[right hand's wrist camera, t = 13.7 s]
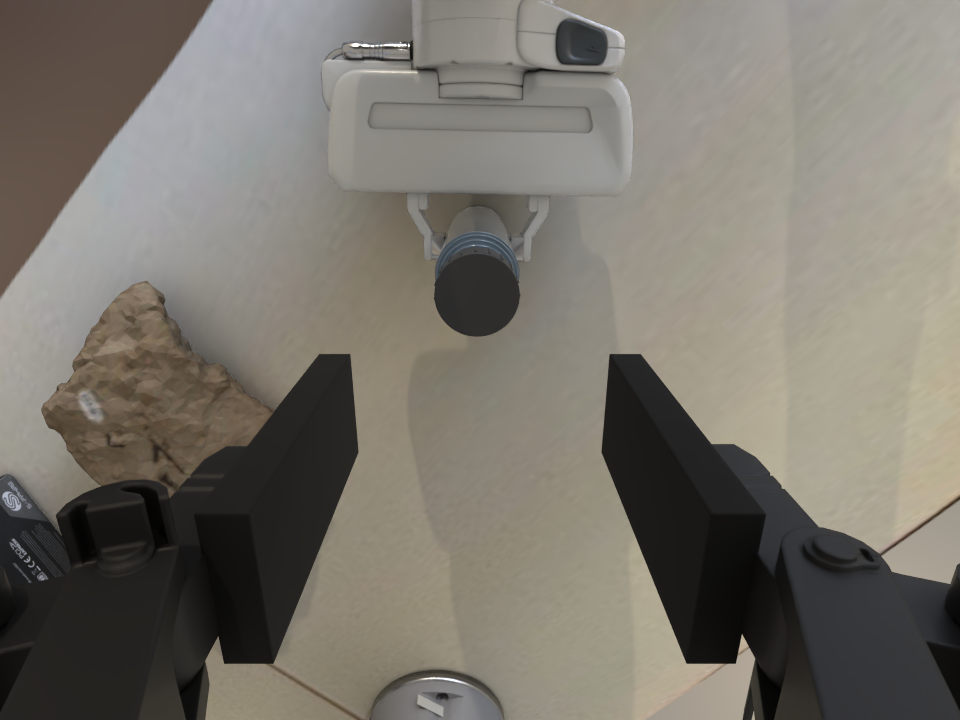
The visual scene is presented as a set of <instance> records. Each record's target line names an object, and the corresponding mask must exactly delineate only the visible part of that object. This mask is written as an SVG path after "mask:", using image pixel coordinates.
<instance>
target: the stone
mask: <svg viewBox="0 0 960 720" xmlns="http://www.w3.org/2000/svg"><path fill="white" fill-rule="evenodd" d="M164 302H165V298H164V295H163V294H162V293H161V292H160V291H158V290H157V289H155V288H154V287H153V286H152V285H151V284H150V283H148V282H147V281H144V282H141V283H137V284H134V285H132V286H131V287H130V288H128V289H127V290H125V291H124V292H122V293H121V294H120V295H119V296H118V297H117V298H116V299H115V300H114V301H113V302H112V303H111V304H110V306H109V307H108V308H107V309H106V310H105V311H104V313H103V314H102V316H101V318H100V320H99V322H98V323H97V324H96V325H95V326H94V327H92V328H91V331H90V334H89V335H88V336H87V338H86V341H85V345H84V347H83V348H82V350H81V351H80V353H79V355H78V356H77V357H76V358H75V359H74V361H73V369H74V374H73V375H72V376H71V378H70V380H69V381H68V382H67V383H61V384H60V385H58V386H57V391H56V392H55V393H54V394H53V395H52V397H51V398H50V399H49V400H48V401H47V402H46V403H44V404H43V406H42V409H41V411H42V414H43V416H44V419H45V421H46V424H47V425H48V427H49V428H51V429H54V430H56V431H57V432H58V433H60V434H61V436H62V437H63V439H64V441H65V442H66V446H67V451H69V452H70V453H71V454H72V456H73V457H74V459H75V460H76V462H77V463H78V464H79V465H80V466H81V467H82V468H83V469H84V470H85V472H86V473H87V474H88V475H89V476H90V477H91V478H92V479H94V480H95V481H96V482H97V483H98V484H99V485H101V486H104V485H108V484H112V483H116V482H120V481H125V480H140V479H146V480H151V481H157V482H160V483H161V484H163V485H164V486H165V487H167V489H168V494H169V498H170V497H171V496H172V495H173V494H174V493H175V492H176V491H179V487H180V486H181V485H182V484H183V483H184V482H185V480H186V479H187V478H190V475H191V474H192V473H193V471H194V470H195V469H196V468H197V467H198V466H199V465H200V464H201V462H202V461H203V460H204V459H206V458H207V457H209V456H211V455H212V454H214V453H216V452H217V451H219V450H221V449H222V448H224V447H226V446H248V444H249V443H250V442H251V441H252V439H253V438H254V437H255V435H256V434H257V433H258V432H259V430H260V429H261V428H262V427H263V425H264V424H265V423H266V421H267V420H268V419H269V418H270V416H271V415H272V414H273V413H274V411H273V410H271V409H270V408H268V407H266V406H264V405H262V404H261V403H260V402H259V401H258V400H255V399H253V398H251V397H250V396H249V395H248V394H247V393H246V392H245V391H244V389H243V388H242V386H241V384H239V383H238V382H236V381H235V380H234V379H233V378H232V377H231V376H230V375H229V374H228V372H227V371H226V369H225V368H224V367H223V366H222V365H221V364H218V363H217V364H212V365H208V364H206V362H205V360H204V359H203V358H202V357H201V356H199V355H197V354H195V353H193V352H192V350H191V347H190V345H189V343H188V341H187V340H186V339H185V338H184V337H181V330H180V328H179V327H178V325H177V323H176V321H174V320H173V319H171V318H170V317H169V316H168V315H167V312H166V310H165V307H164Z"/></svg>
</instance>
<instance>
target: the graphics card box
mask: <svg viewBox="0 0 960 720" xmlns="http://www.w3.org/2000/svg"><path fill="white" fill-rule="evenodd" d="M0 566H2V567H3V568H4V570H5V573H6V575H7V578H8V581H9V584H10V587H12V586H17V585H22V584H26V583H31V582H36V581H41V580H46V579H51V578H56V577H61V576H64V575H68V573H69V571H70V568H71V564H70V561H69V557H68V554H67V551H66V547H65V544H64V541H63V538H62V536H61V535H60V534H59V533H58V531H57V530H56V529H55V528H54V526H53V525H52V524H51V523H50V522H49V520H48V519H47V518H46V517H45V515H44V514H43V513H42V512H41V510H40V509H39V508H38V507H37V506H36V504H35V503H34V502H33V501H32V499H31V498H30V497H29V496H28V495H27V494H26V492H25V491H24V490H23V488H22V487H21V486H20V485H19V483H17V481H16V480H15V479H14V478H13V477H12V476H11V475H8V474H6V475H3V476H1V477H0Z"/></svg>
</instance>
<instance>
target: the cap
mask: <svg viewBox="0 0 960 720" xmlns="http://www.w3.org/2000/svg"><path fill="white" fill-rule="evenodd" d="M518 283H519V281H518V278H517V275H515V273H514V270H513V267H512V264H511V263H509V262H508V261H507V260H506V259H505V258H504V257H503V255H502V254H499V253H497V252H495V251H493V250H491V249H490V248H483V247H476V246H475V247H471V248H466V249H461V251H459V252H457V253H455V254H454V255H452V256H451V255H450V256H449V259H448V260H447V261H446V262H445V264H444V265H443V266H441V268H440V271H439V276H438V278H437V279H436V282H435V285H434V286H435V293H434V295H435V297H434V300H435V304H436V307H437V310H438V312H439V314H440V316H441V318H442V319H443V320H444V322H445V323H446V324H447V325H448V326H449V327H451V328H452V329H454V330H455V331H457V332H459V333H461V334H464V335H468V336H486V335H490V334H493V333H495V332H497V331H499V330H501V329H502V328H503V327H505V326H506V325H507V324H508V323H509V322H510V320H511V319H512V318H513V316H514V315H515V313H516V310H517V308H518V304H519V298H520V292H519V286H518Z"/></svg>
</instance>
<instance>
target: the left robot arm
mask: <svg viewBox="0 0 960 720" xmlns="http://www.w3.org/2000/svg"><path fill="white" fill-rule="evenodd" d="M412 37H413V40H412V42H380V43H375V44H374V43H371V44H370V43H363V42H362V41H348V42H344V43H343V44H342V48H338V49H336V50H334V51H332V52H331V53H330V54H329V55H328V56H327V57H326V58H325V60H324V62H323V65H322V69H321V80H322V95H323V100H324V103H325V105H326V107H327V109H328V110H329V111H330V116H329V128H328V152H327V156H328V175H329V177H330V179H331V180H332V182H333V183H334V184H335V185H336V187H337V188H338V189H339V190H341V191H348V192H399V193H407V211H408V212H409V214H410V216H411V217H412V219H413V221H414V222H415V224H416V226H417V228H418V229H419V231H420V233H421V234H422V235H424V259H425V260H437V259H438V257H439V254H440V251H441V249H442V246H443V244H444V241H445V239H446V233H437V232H435V231H434V230H433V228H432V226H431V224H430V222H429V221H428V219H427V217H426V215H425V213H424V211H423V210H426V209H427V208H428V207H429V206H430V193H450V194H500V195H527V209H528V210H529V211H530V212H533V214H532V215H531V217H530V219H529V220H528V222H527V224H526V225H525V227H524V229H523V230H522V232H521V234H510V238H509V239H510V242H511V244H512V247H513V250H514V252H515V255H516V258H517V261H518V262H530V258H531V239H532V237H534V236H535V234H536V232H537V231H538V229H539V228H540V226H541V225H542V223H543V221H544V220H545V218H546V217H547V215H548V214H549V202H550V195H551V196H602V197H616V196H618V195H619V194H620V193H621V192H622V191H623V190H624V189H625V187H626V186H627V185H628V183H629V181H630V178H631V169H632V152H633V124H632V107H631V101H630V97H629V94H628V91H627V89H626V87H625V86H624V84H623V83H622V82H621V81H620V80H619V79H618V78H616V77H614V76H612V74H613V73H615V72H616V71H617V70H618V69H619V68H620V66H621V64H622V62H623V59H624V54H625V39H624V37H623V35H622V34H621V33H620V32H618V31H616V30H614V29H612V28H610V27H607V26H604V25H602V24H599V23H596V22H594V21H591V20H589V19H586V18H584V17H581V16H579V15H576V14H574V13H571V12H569V11H566V10H564V9H562V8H559V7H557V6H555V5H553V0H412ZM340 55H343V58H344V59H346V60H334V59H335V58H336V57H338V56H340ZM371 59H372V60H375V59H376V60H380V61H366V60H371ZM411 61H413V69H414V70H412V62H411Z"/></svg>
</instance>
